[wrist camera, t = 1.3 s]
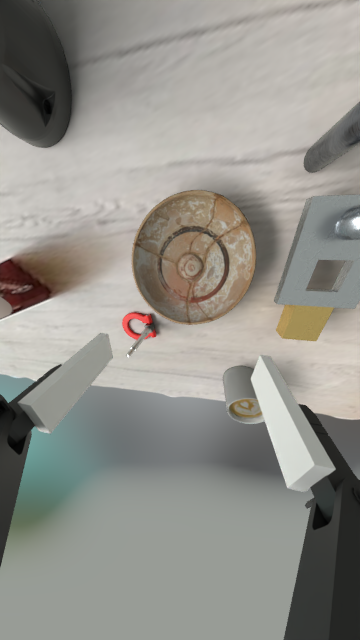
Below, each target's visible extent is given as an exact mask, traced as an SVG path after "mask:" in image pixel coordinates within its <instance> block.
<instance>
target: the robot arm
mask: <svg viewBox="0 0 360 640" xmlns="http://www.w3.org/2000/svg"><path fill="white" fill-rule="evenodd" d="M70 111H71V86H70V78H69V72H68V67H67V63H66V59H65V56H64V52H63V49H62V46H61V44H60V41H59V39H58V36H57V34H56V32H55V30H54V28H53V25H52V24H51V22H50V20H49V18H48V17H47V15H46V13H45V12H44V10H43V9H42V7H41V6H40V5H39V3H38V2H37V0H0V124H1V125H2V126H3V127H4V128H5V129H6V130H8V131H9V132H11V133H12V134H13V135H15V136H17V137H18V138H20V139H22V140H24V141H25V142H27V143H29V144H31V145H33V146H36V147H42V148H43V147H50V146H52V145H54V144H56V143H57V142H58V141H59V140H60V139H61V138H62V136H63V135H64V133H65V131H66V128H67V125H68V122H69V118H70ZM112 358H113V355H112V350H111V345H110V341H109V336H108V334H103V333H100V334H99V335H97V336H96V337H95V338H94V339H93V340H91V341H90V342H89V343H88V344H87V345H86V346H84V347H83V348H82V349H81V350H80V351H78V352H77V353H76V354H75V355H74V356H72V357H71V358H70V359H69V360H68V361H66V362H65V363H64V364H63V365H61V364H60V365H58V366H56V367H54V368H52V369H51V370H49V371H48V372H47V373H46V374H44V375H43V377H41V378H39V379H38V380H37V382H34V383H33V384H32V385H31V386H29V387H28V388H27V389H26V390H25V391H23V392H22V393H21V394H20V395H18V396H17V397H16V398H15V399H13V400H12V401H11V402H9V403H7V401H6V400H5V399H4V397H3V396H2V395H0V566H1V562H2V558H3V553H4V549H5V545H6V541H7V536H8V532H9V528H10V524H11V520H12V515H13V511H14V507H15V503H16V498H17V495H18V490H19V486H20V482H21V477H22V473H23V469H24V465H25V460H26V456H27V452H28V448H29V444H30V440H31V435H32V434H31V429H32V428H33V427H34V426H36V427H37V429H38V430H39V431H41V432H45V433H52V431H53V430H54V429H55V428H56V426H57V425H58V424H59V423H60V422H61V420H62V419H63V418H64V416H65V415H66V414H67V413H68V412H69V411H70V409H71V408H72V407H73V406H74V404H75V403H76V402H77V401H78V400H79V398H80V397H81V396H82V395H83V393H84V392H85V391H86V390H87V389H88V387H89V386H90V385H91V384H92V383H93V381H94V380H95V379H96V378H97V376H98V375H99V374H100V373H101V372H102V370H103V369H104V368H105V367H106V365H107V364H108V363H109V362H110V361H111V359H112ZM251 381H252V384H253V387H254V390H255V393H256V396H257V399H258V402H259V405H260V408H261V411H262V414H263V417H264V420H265V423H266V426H267V429H268V432H269V434H270V438H271V440H272V443H273V446H274V449H275V452H276V455H277V458H278V461H279V464H280V467H281V470H282V473H283V476H284V478H285V482H286V484H287V487H288V488H289V489H293V490H297V491H302V492H306V491H307V490H308V489H310V488H311V490H312V492H313V495H314V498H313V499H311V500H310V501H308V502H307V503H306V505H305V506H306V508H309V507H311V510H310V515H309V520H308V525H307V529H306V534H305V539H304V544H303V549H302V554H301V558H300V563H299V568H298V573H297V578H296V583H295V588H294V592H293V597H292V602H291V607H290V612H289V617H288V622H287V626H286V631H285V636H284V640H360V480H358V479H357V477H356V476H355V475H354V474H353V472H352V470H351V469H350V467H349V466H348V464H347V463H346V461H345V460H344V458H343V456H342V455H341V453H340V452H339V450H338V449H337V447H336V446H335V444H334V442H333V441H332V439H331V438H330V437H329V436H328V433H327V432H326V430H325V429H324V427H322V424H321V423H320V421H319V419H318V418H317V416H316V415H315V414H314V413H313V412H312V411H311V410H310V409H309V408H308V407H307V406H306V405H301V404H298V403H297V401H296V400H295V398H294V396H293V395H292V393H291V391H290V389H289V388H288V386H287V384H286V383H285V381H284V379H283V377H282V376H281V374H280V372H279V371H278V369H277V367H276V365H275V364H274V362H273V360H272V359H271V357H270V356H264V355H260V357H259V359H258V362H257V364H256V367H255V369H254V372H253V374H252V376H251Z"/></svg>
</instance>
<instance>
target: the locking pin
mask: <svg viewBox="0 0 360 640" xmlns="http://www.w3.org/2000/svg"><path fill="white" fill-rule="evenodd" d="M358 144H360V102H359V103H358V104H357V105H355V106H354V107H353V108H352V109H351V110H350V111H349V112H348V113H347V114H346V115H345V116H344V117H343V118H341V119H340V120H339V121H338V122H337V123H336V124H335V125H334V126H333V127H332V128H331V129H330V130H329V131H328V132H326V133H325V134H324V135H323V136H322V137H321V138H320V139H319V140H318V141H317V142H316V143H315V144H314V145H312V146H311V148H310V149H309V150H308V152H307V153H306V156H305V159H304V167H305V169H306V171H308V172H310V173H313V172H317V171H319V170H320V169H322V168H323V167H325V166H326V165H328V164H329V163H331V162H332V161H334V160H336V159H337V158H339V157H340V156H342V155H343V154H345V153H346V152H348V151H349V150H351V149H352V148H354V147H355V146H357V145H358Z"/></svg>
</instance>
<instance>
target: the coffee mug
mask: <svg viewBox="0 0 360 640" xmlns="http://www.w3.org/2000/svg"><path fill="white" fill-rule="evenodd" d="M253 372H254V370H253V369H251V368H249V367H246V366H235V367H232V368H230V369H228V370H227V371H226V372H225V373H224V375H223V383H224V391H225V398H226V406H227V412H228V414H229V416H230V417H231V418H232V419H234V420H236V421H238V422H241V423H246V424H255V423H260V422H263V421H265V420H264V417H263V414H262V411H261V408H260V405H259V402H258V399H257V396H256V393H255V390H254V387H253V384H252V381H251V376H252V374H253Z"/></svg>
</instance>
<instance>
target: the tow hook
mask: <svg viewBox="0 0 360 640" xmlns="http://www.w3.org/2000/svg"><path fill="white" fill-rule="evenodd" d="M134 318H135V319H139V320H140V321H142V322H143V323H147V324H146V325H145V329H144V330H143V332H142V333H141V334H136V333H134V332H132V331H131V329H130V328H129V320H130V319H134ZM122 324H123V328H124V330H125V332H126V333H127V334H128V335H129V336H130V337H132V338H134V339H137V340H136V342H135V343H134V344H133V345H132V347H131V349H130V351H129V352H128V353H127V355H126V356H127V357H130V356H131V354H132V353H133V352H134V351H136V349H137V348H138V347H139V345H140V344H141V343H142V341H143V340H144V339H146V338H148V337H149V336H152V337H156V332H155V327H154V324H153V321H152V318H151V314H147V315H142V314H139V313H135V312H133V313H129V314H127V315H126V316H125V317H124V319H123V323H122Z"/></svg>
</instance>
